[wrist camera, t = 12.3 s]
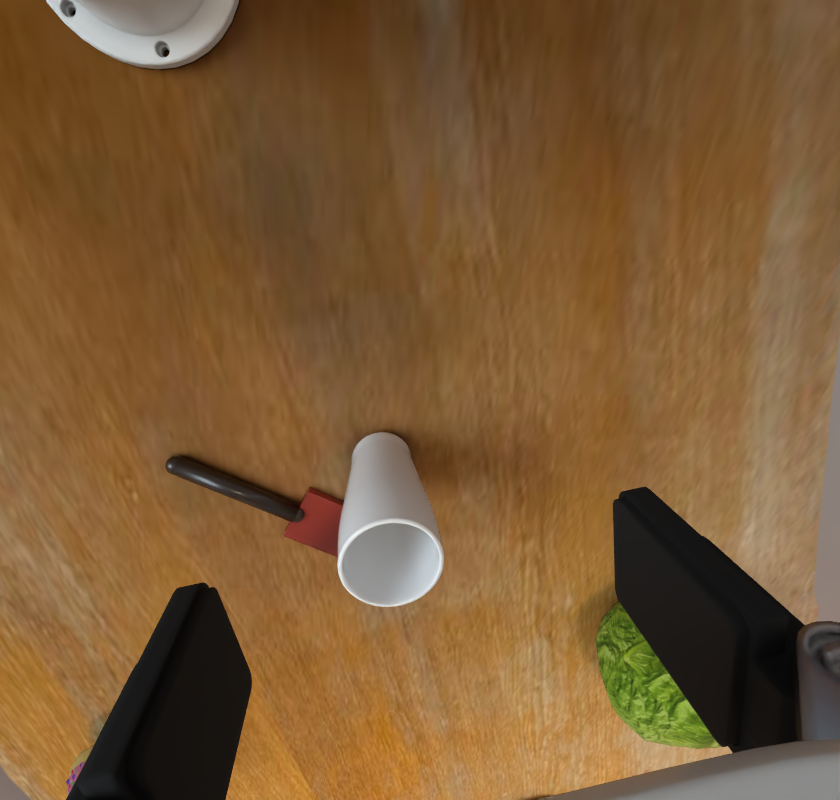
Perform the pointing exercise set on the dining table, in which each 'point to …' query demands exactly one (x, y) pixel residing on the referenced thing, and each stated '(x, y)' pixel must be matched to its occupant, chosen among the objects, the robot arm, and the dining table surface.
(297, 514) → the spatula
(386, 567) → the drinking glass
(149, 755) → the robot arm
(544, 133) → the dining table surface
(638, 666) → the lettuce
